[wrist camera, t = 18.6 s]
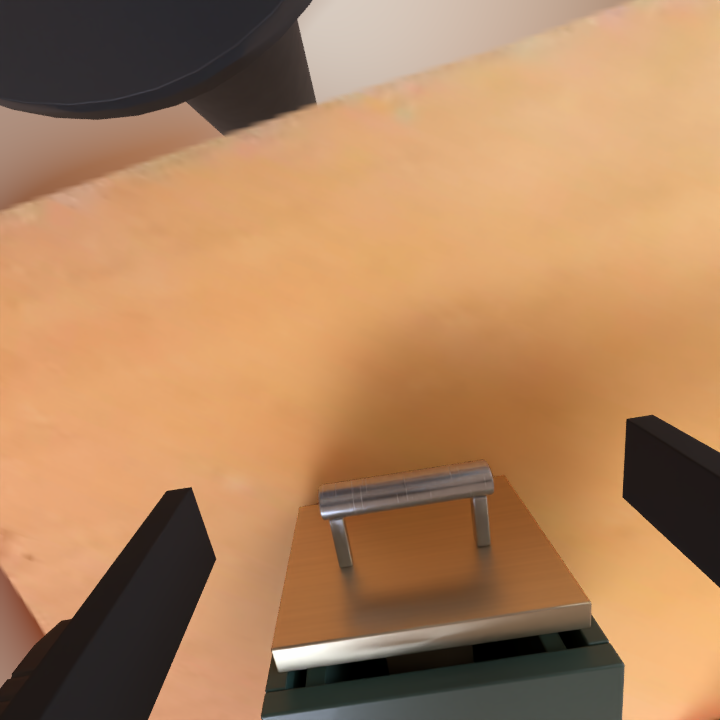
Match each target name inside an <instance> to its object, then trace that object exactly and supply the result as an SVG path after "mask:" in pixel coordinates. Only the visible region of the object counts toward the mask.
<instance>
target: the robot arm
mask: <svg viewBox="0 0 720 720" xmlns="http://www.w3.org/2000/svg"><path fill="white" fill-rule="evenodd" d="M623 498H624V499H625V500H626V501H627V502H628V503H629V504H630V505H631V506H633V507H634V508H635V509H636V510H637V511H638V512H639V513H640V514H641V515H642V516H643V517H644V518H645V519H646V520H648V521H649V522H650V523H651V524H652V525H653V526H654V527H655V528H656V529H657V530H658V531H659V532H660V533H662V534H663V535H664V536H665V537H666V538H667V539H668V540H669V541H670V542H671V543H672V544H673V545H674V546H676V547H677V548H678V549H679V550H680V551H681V552H682V553H683V554H684V555H685V556H686V557H687V558H688V559H689V560H691V561H692V562H693V563H694V564H695V565H696V566H697V567H698V568H699V569H700V570H701V571H702V572H703V573H705V574H706V575H707V576H708V577H709V578H710V579H711V580H712V581H713V582H714V583H715V584H716V585H717V586H719V587H720V453H719V452H718V451H716V450H714V449H712V448H711V447H709V446H707V445H705V444H703V443H702V442H700V441H698V440H696V439H695V438H693V437H691V436H689V435H688V434H686V433H684V432H682V431H680V430H679V429H677V428H675V427H673V426H672V425H670V424H668V423H666V422H665V421H663V420H661V419H659V418H657V417H656V416H654V415H648V416H642V417H636V418H629V419H627V420H626V440H625V459H624V479H623ZM215 561H216V557H215V554H214V551H213V548H212V546H211V543H210V540H209V537H208V534H207V531H206V528H205V525H204V522H203V520H202V517H201V514H200V511H199V508H198V505H197V502H196V499H195V496H194V494H193V491H192V488H191V487H190V488H183V489H177V490H171V491H166V493H165V494H164V495H163V497H162V498H161V499H160V501H159V502H158V503H157V505H156V506H155V508H154V509H153V510H152V512H151V513H150V514H149V516H148V517H147V518H146V520H145V521H144V522H143V524H142V525H141V526H140V528H139V529H138V530H137V532H136V533H135V534H134V536H133V537H132V539H131V540H130V541H129V543H128V544H127V545H126V547H125V548H124V549H123V551H122V552H121V553H120V555H119V556H118V557H117V559H116V560H115V561H114V563H113V564H112V565H111V567H110V568H109V570H108V571H107V572H106V574H105V575H104V576H103V578H102V579H101V580H100V582H99V583H98V584H97V586H96V587H95V588H94V590H93V591H92V592H91V594H90V595H89V596H88V598H87V599H86V601H85V602H84V603H83V605H82V606H81V607H80V609H79V610H78V611H77V613H76V614H75V615H74V617H73V618H72V619H70V620H63V621H61V622H59V623H58V624H57V625H56V626H55V627H54V628H53V629H52V630H51V631H50V632H48V633H47V634H46V635H45V636H44V637H43V638H42V639H41V640H40V641H39V642H37V643H36V645H34V646H33V648H32V649H31V650H30V651H29V653H28V654H27V655H26V656H25V658H24V659H23V660H22V662H21V663H20V664H19V665H18V667H17V668H16V669H15V671H14V672H13V673H12V677H11V679H8V680H7V681H6V682H5V683H4V684H3V686H2V687H1V688H0V720H148V718H149V716H150V714H151V711H152V709H153V707H154V704H155V702H156V699H157V697H158V695H159V692H160V690H161V688H162V685H163V683H164V681H165V678H166V676H167V674H168V671H169V669H170V667H171V664H172V662H173V659H174V657H175V655H176V652H177V650H178V648H179V645H180V643H181V641H182V638H183V636H184V634H185V631H186V629H187V627H188V624H189V622H190V619H191V617H192V615H193V612H194V610H195V608H196V605H197V603H198V601H199V598H200V596H201V594H202V591H203V589H204V587H205V584H206V582H207V579H208V577H209V575H210V572H211V570H212V568H213V565H214V563H215Z"/></svg>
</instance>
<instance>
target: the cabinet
mask: <svg viewBox="0 0 720 720" xmlns="http://www.w3.org/2000/svg"><path fill="white" fill-rule="evenodd" d="M558 634H559V636H560V638H561V639H562V641H563V643H564V645H565V647H566V649H564V650H557V651H550V652H543V653H536V654H529V655H522V656H515V657H508V658H501V659H495V660H488V661H481V662H474V663H467V664H460V665H453V666H446V667H439V668H432V669H425V670H419V671H412V672H405V673H398V674H391V675H384V676H377V677H370V678H363V679H356V680H349V681H342V682H336V683H329V684H322V685H315V686H308V687H305V686H306V676H307V669H303V670H296V671H289V672H283V673H279V672H278V671H277V667H276V664H275V661H274V658H273V655H272V659H271V664H270V669H269V674H268V679H267V685H266V690H265V692H266V694H265V697H264V702H263V708H262V713H261V719H262V720H622V707H623V687H624V663H623V662H622V660H621V659H620V657H619V656H618V654H617V653H616V651H615V649H614V648H613V646H612V645H611V644H610V643H609V640H608V639H607V637H606V636H605V634H604V633H603V631H602V630H601V628H600V627H599V625H598V624H597V622H596V621H595V619H594V618H593V616H592V615H591V627H590V628H585V629H578V630H571V631H564V632H558Z"/></svg>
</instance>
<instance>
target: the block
mask: <svg viewBox="0 0 720 720" xmlns="http://www.w3.org/2000/svg"><path fill="white" fill-rule="evenodd" d="M386 661H387V666H388V671H389V675H391V674H398V673H405V672H412V671H419V670H425V669H432V668H439V667H446V666H453V665H460V664H467V663H474V657H473V647H472V645H468V646H461V647H454V648H447V649H440V650H434V651H427V652H420V653H413V654H406V655H399V656H392V657H386Z"/></svg>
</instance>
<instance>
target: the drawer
mask: <svg viewBox="0 0 720 720" xmlns="http://www.w3.org/2000/svg"><path fill="white" fill-rule="evenodd" d="M318 501H319V504H316V505H309V506H303V507H299V511H298V517H297V522H296V527H295V532H294V537H293V542H292V547H291V552H290V557H289V562H288V567H287V572H286V577H285V582H284V587H283V592H282V597H281V602H280V607H279V612H278V617H277V622H276V628H275V633H274V638H273V643H272V648H271V651H272V655H273V658H274V661H275V664H276V667H277V671H278V672H279V673H283V672H289V671H296V670H303V669H307V676H306V686H305V687H308V686H315V685H322V684H329V683H336V682H342V681H349V680H356V679H363V678H370V677H377V676H384V675H389V671H388V666H387V661H386V657H392V656H399V655H406V654H413V653H420V652H427V651H434V650H440V649H447V648H454V647H461V646H468V645H472V647H473V657H474V662H481V661H488V660H495V659H501V658H508V657H515V656H522V655H529V654H536V653H543V652H550V651H557V650H564V649H566V647H565V645H564V643H563V641H562V639H561V638H560V636H559V634H558V632H564V631H571V630H578V629H585V628H590V627H591V602H590V600H589V599H588V597H587V596H586V594H585V593H584V591H583V590H582V588H581V587H580V586H579V584H578V583H577V581H576V580H575V578H574V577H573V575H572V574H571V572H570V571H569V569H568V568H567V566H566V565H565V563H564V562H563V561H562V559H561V558H560V556H559V555H558V553H557V552H556V550H555V549H554V547H553V546H552V544H551V543H550V541H549V540H548V539H547V537H546V536H545V534H544V533H543V531H542V530H541V528H540V527H539V525H538V524H537V522H536V521H535V519H534V518H533V517H532V515H531V514H530V512H529V511H528V509H527V508H526V506H525V505H524V503H523V502H522V500H521V499H520V497H519V496H518V494H517V493H516V492H515V490H514V489H513V487H512V486H511V484H510V483H509V481H508V480H507V478H506V477H505V476H504V475H502V476H496V477H493V476H492V472H491V469H490V467H489V465H488V463H487V462H486V461H485V460H476V461H470V462H464V463H457V464H451V465H445V466H438V467H432V468H425V469H419V470H413V471H406V472H400V473H394V474H387V475H381V476H374V477H368V478H362V479H355V480H349V481H342V482H336V483H330V484H323V485H320V486H319V490H318Z"/></svg>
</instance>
